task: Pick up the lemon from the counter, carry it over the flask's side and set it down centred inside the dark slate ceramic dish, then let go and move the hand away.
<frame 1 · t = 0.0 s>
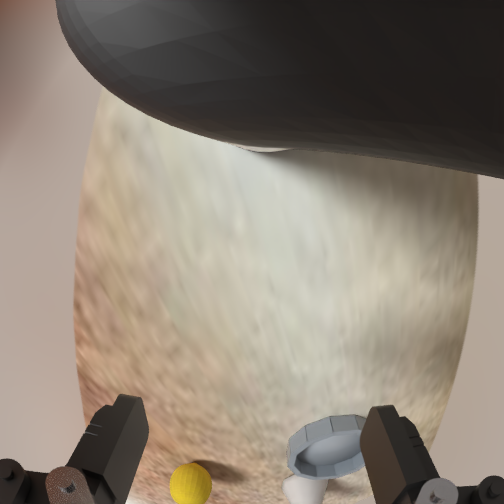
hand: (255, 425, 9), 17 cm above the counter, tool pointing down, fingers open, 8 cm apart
lemon: (195, 462, 36), on the counter
dish: (332, 443, 33), on the counter
flask: (304, 480, 37), on the counter
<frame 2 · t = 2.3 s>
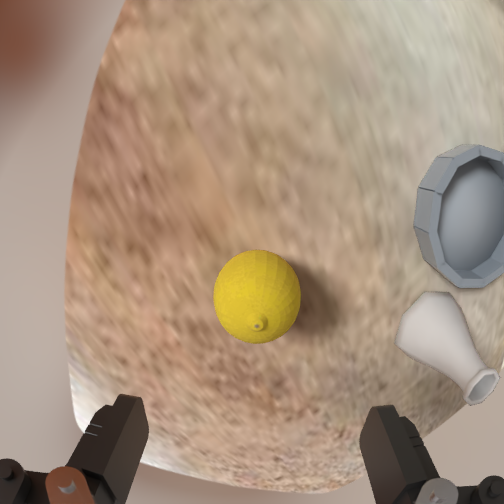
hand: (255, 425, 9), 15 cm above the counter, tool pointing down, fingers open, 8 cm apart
lemon: (257, 272, 24), on the counter
dish: (468, 214, 22), on the counter
flask: (427, 323, 25), on the counter
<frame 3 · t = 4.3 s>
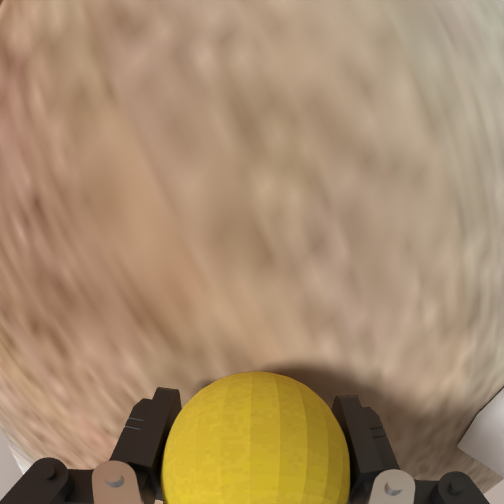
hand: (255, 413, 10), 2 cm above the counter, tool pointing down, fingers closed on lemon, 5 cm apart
lemon: (257, 383, 12), on the counter, touching gripper
flask: (500, 412, 13), on the counter
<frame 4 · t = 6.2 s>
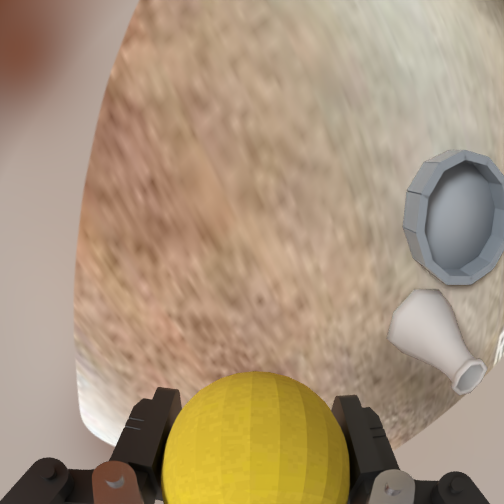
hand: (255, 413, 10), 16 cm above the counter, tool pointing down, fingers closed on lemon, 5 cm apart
lemon: (257, 383, 12), point 14 cm above the counter, touching gripper
dish: (456, 215, 24), on the counter
flask: (418, 319, 27), on the counter
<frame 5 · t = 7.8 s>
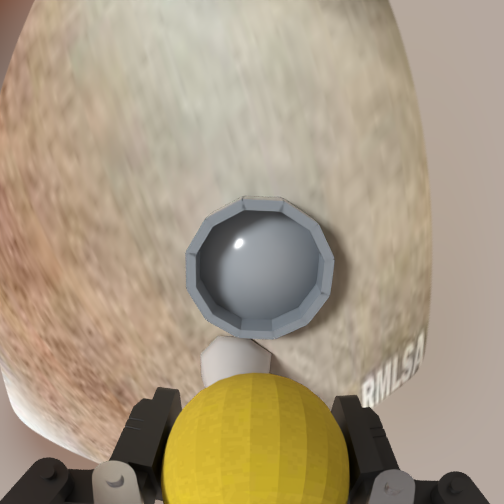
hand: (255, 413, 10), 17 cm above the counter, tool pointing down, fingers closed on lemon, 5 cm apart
lemon: (257, 384, 12), point 16 cm above the counter, touching gripper
dish: (259, 264, 27), on the counter
flask: (235, 363, 30), on the counter
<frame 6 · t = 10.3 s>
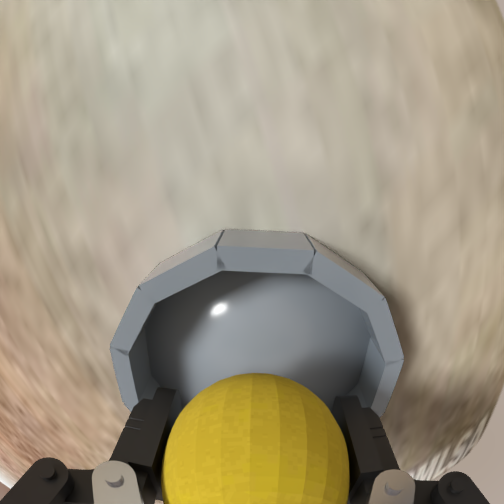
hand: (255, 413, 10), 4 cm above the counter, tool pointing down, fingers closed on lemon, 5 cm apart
lemon: (257, 385, 12), point 2 cm above the counter, touching gripper
dish: (256, 357, 14), on the counter
when the fingers open (3 cm above the counter, at t = 11.3 s): lemon drops 1 cm, resting on dish.
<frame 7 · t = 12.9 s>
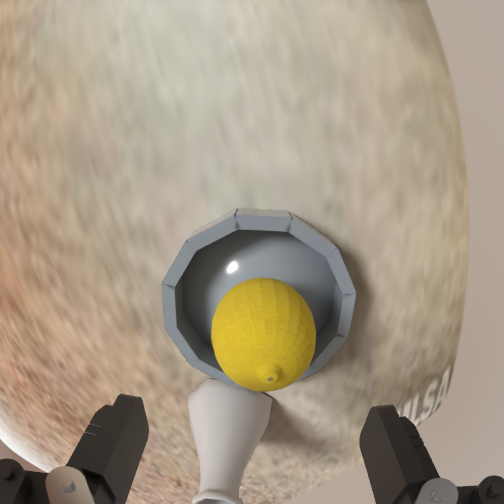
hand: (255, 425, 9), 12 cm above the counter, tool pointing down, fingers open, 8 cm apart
lemon: (258, 298, 20), resting on dish
dish: (258, 296, 21), on the counter
flask: (229, 407, 24), on the counter
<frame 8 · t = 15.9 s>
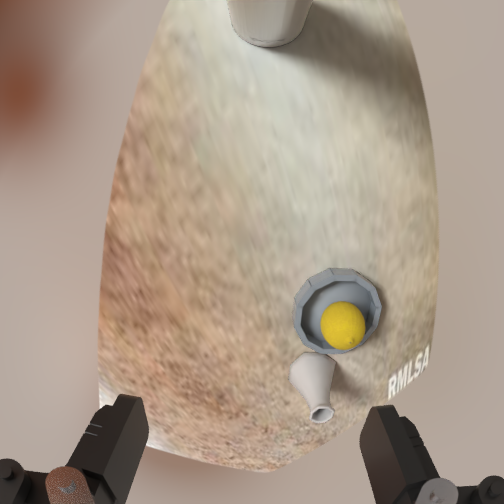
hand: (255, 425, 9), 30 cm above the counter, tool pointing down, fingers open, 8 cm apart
lemon: (335, 309, 41), resting on dish
dish: (335, 308, 41), on the counter
flask: (311, 369, 44), on the counter
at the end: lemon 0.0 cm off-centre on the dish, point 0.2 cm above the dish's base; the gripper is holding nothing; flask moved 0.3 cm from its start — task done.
